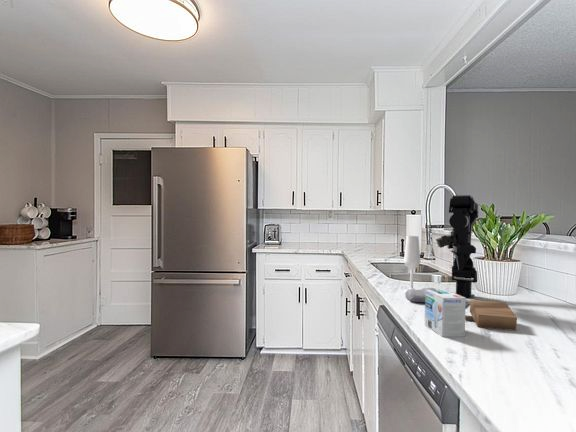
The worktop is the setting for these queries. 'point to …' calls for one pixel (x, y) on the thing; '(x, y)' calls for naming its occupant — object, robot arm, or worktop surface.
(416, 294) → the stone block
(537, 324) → the worktop surface
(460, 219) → the robot arm
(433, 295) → the light bulb box
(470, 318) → the grey rectangular bar
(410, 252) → the champagne flute
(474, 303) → the light brown wooden block
